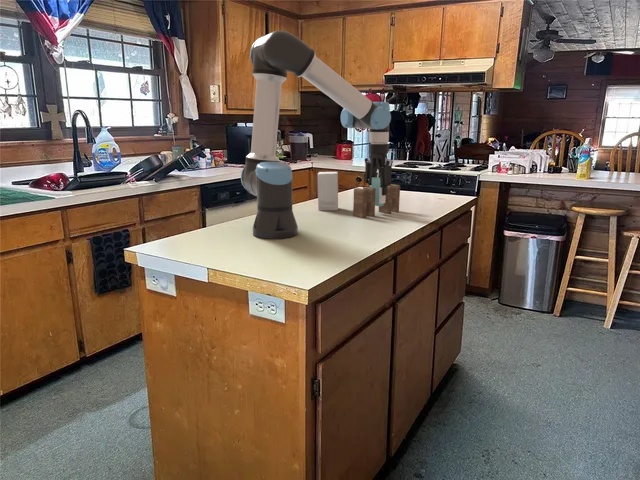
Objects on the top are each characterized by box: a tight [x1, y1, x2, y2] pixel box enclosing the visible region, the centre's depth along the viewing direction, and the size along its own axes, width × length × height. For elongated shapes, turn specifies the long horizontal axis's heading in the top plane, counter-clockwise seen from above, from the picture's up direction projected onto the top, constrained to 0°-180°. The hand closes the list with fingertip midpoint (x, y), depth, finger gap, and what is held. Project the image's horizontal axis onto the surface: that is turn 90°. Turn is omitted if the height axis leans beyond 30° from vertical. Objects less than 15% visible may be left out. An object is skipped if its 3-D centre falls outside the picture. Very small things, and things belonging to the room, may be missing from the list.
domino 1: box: [352, 187, 367, 219], centre depth 186 cm, size 2×5×11 cm, turn 37°
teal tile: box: [371, 176, 384, 207], centre depth 190 cm, size 2×5×11 cm, turn 37°
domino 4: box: [391, 183, 401, 213], centre depth 197 cm, size 2×5×11 cm, turn 37°
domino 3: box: [378, 186, 392, 215], centre depth 194 cm, size 2×5×11 cm, turn 37°
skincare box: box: [316, 171, 339, 211], centre depth 200 cm, size 8×7×16 cm
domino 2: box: [362, 186, 376, 218], centre depth 188 cm, size 2×5×11 cm, turn 37°
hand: (377, 202), depth 191 cm, fingers closed on teal tile, 5 cm apart
